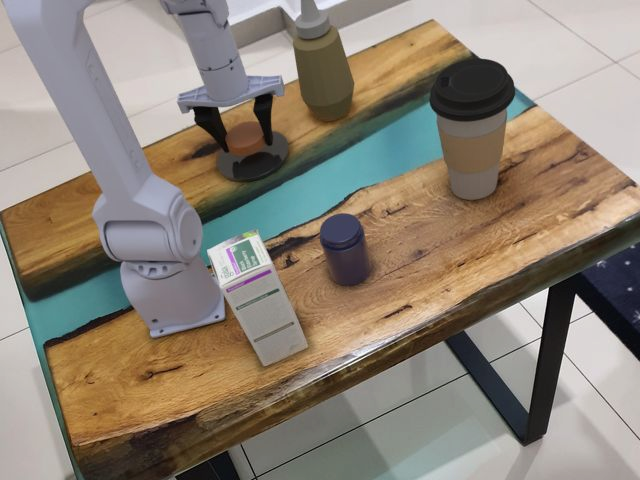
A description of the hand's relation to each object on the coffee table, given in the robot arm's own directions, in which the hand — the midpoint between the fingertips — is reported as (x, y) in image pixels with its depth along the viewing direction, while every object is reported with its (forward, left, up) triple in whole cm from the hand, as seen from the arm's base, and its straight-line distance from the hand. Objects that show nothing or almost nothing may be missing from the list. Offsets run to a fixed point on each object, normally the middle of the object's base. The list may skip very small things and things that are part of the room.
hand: (249, 144), depth 94 cm
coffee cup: (+28, -18, -2) cm, 33 cm away
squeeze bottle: (+13, +6, -2) cm, 15 cm away
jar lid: (0, 0, +2) cm, 2 cm away
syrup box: (0, -35, -2) cm, 35 cm away
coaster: (0, 0, -2) cm, 2 cm away
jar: (+10, -27, -2) cm, 29 cm away
